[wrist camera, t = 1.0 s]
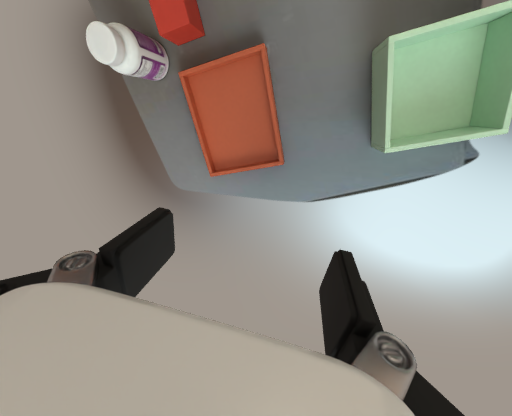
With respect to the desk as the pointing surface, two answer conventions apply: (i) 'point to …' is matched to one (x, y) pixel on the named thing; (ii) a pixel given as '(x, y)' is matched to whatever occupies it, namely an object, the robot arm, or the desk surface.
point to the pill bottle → (127, 50)
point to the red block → (177, 20)
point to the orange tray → (235, 111)
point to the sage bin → (444, 81)
